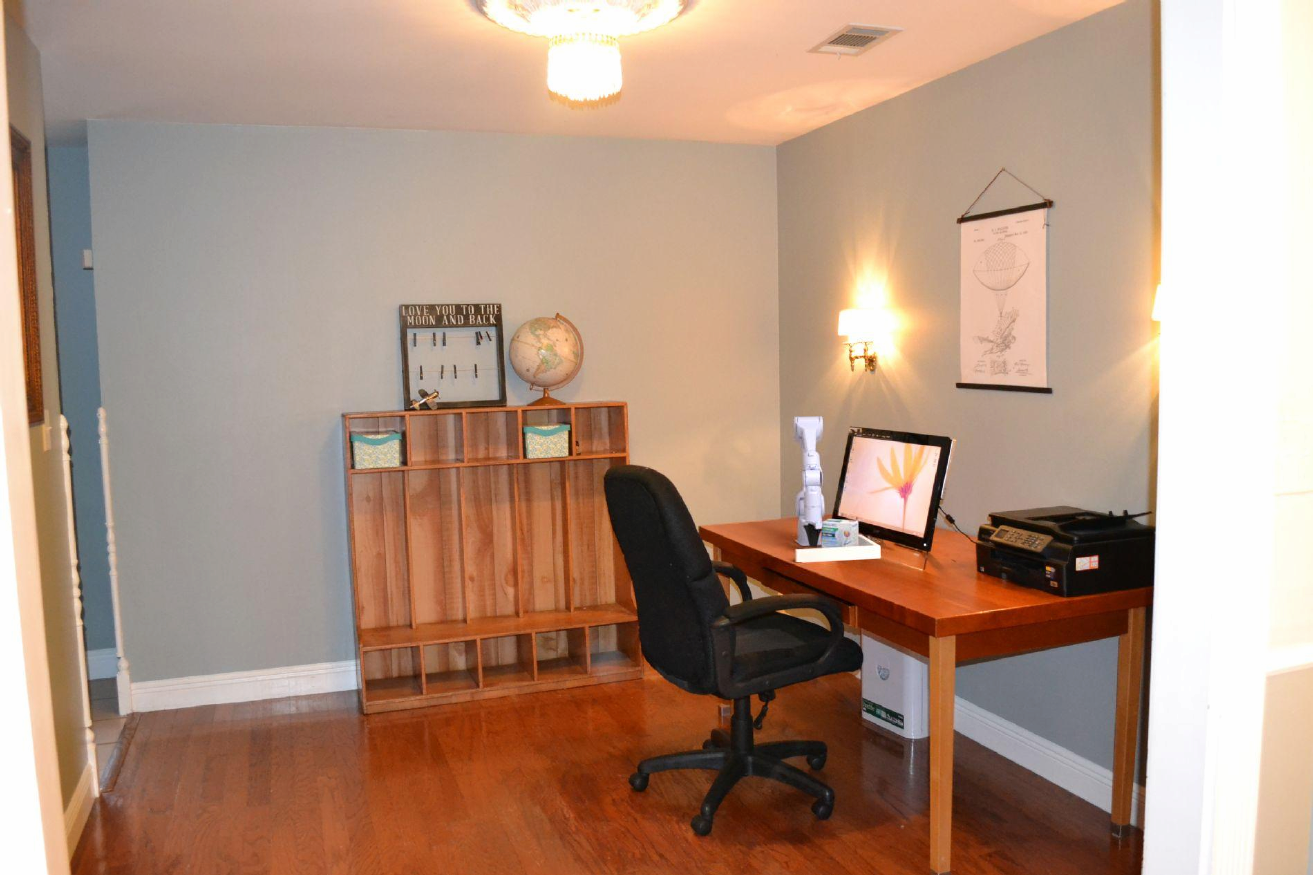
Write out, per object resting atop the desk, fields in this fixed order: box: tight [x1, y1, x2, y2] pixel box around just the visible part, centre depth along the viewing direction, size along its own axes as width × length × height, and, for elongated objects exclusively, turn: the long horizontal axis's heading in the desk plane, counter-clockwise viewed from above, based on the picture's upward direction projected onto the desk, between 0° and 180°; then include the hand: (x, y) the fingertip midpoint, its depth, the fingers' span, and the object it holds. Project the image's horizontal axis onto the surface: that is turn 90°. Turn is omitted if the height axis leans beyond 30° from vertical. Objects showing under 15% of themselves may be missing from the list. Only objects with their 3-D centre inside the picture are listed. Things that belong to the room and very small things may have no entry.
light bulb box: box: [821, 518, 859, 548], centre depth 331 cm, size 11×7×11 cm, turn 60°
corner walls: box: [794, 534, 882, 563], centre depth 331 cm, size 20×28×4 cm
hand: (813, 546), depth 332 cm, fingers closed
